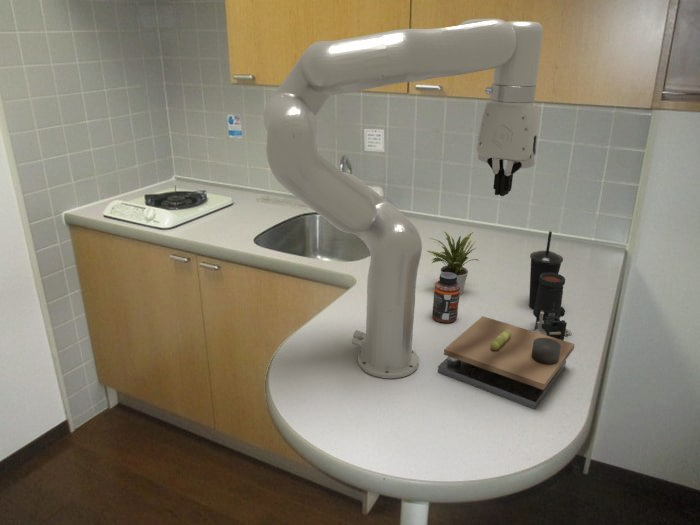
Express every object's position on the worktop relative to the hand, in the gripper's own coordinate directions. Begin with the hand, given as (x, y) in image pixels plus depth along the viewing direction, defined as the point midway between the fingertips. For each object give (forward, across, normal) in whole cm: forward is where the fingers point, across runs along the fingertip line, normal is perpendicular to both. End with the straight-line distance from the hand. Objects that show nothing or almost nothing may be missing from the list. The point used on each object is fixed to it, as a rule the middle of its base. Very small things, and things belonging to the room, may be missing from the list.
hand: (501, 193), depth 110 cm
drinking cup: (+35, +2, +29) cm, 46 cm away
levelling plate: (+31, +7, -4) cm, 32 cm away
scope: (+35, +8, +16) cm, 40 cm away
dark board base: (+35, +6, -4) cm, 36 cm away
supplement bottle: (+35, -14, +9) cm, 39 cm away
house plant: (+35, -20, +25) cm, 48 cm away
